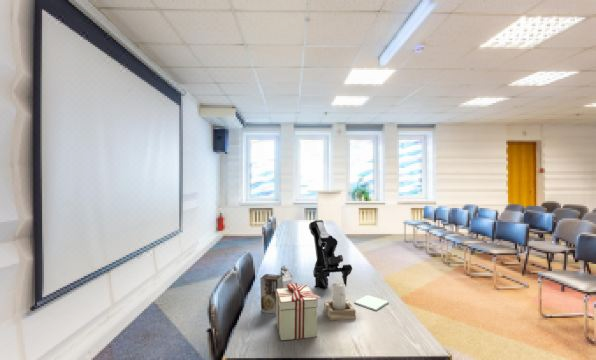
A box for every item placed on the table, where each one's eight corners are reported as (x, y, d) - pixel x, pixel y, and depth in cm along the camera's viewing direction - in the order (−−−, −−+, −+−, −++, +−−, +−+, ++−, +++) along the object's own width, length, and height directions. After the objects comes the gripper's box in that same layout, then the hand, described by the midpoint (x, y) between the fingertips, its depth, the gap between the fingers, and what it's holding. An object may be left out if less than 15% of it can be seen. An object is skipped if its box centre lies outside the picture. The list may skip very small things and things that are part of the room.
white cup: (277, 294, 156) (276, 276, 156) (291, 293, 157) (291, 275, 157) (277, 300, 148) (277, 281, 148) (292, 299, 149) (292, 280, 149)
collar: (324, 309, 137) (324, 301, 137) (347, 307, 139) (346, 299, 139) (330, 320, 126) (330, 312, 126) (355, 318, 128) (355, 310, 128)
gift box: (327, 335, 114) (326, 291, 114) (281, 343, 109) (280, 298, 109) (312, 316, 130) (312, 278, 130) (272, 322, 125) (272, 282, 125)
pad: (354, 303, 143) (354, 301, 143) (367, 296, 151) (367, 294, 151) (375, 311, 135) (375, 309, 135) (388, 303, 143) (388, 301, 143)
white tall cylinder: (331, 311, 135) (330, 283, 135) (343, 310, 136) (342, 282, 136) (336, 319, 127) (335, 289, 127) (349, 318, 128) (348, 288, 128)
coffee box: (283, 308, 139) (283, 275, 139) (278, 314, 133) (277, 279, 133) (266, 306, 142) (265, 273, 142) (260, 311, 136) (259, 277, 136)
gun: (272, 265, 203) (286, 262, 205) (273, 269, 203) (287, 267, 205) (279, 283, 167) (296, 280, 169) (280, 289, 167) (297, 286, 169)
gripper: (314, 250, 140) (319, 280, 129) (350, 248, 144) (359, 277, 133) (310, 262, 148) (316, 291, 137) (345, 259, 151) (353, 288, 140)
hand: (336, 287), depth 137 cm, fingers open, 9 cm apart
